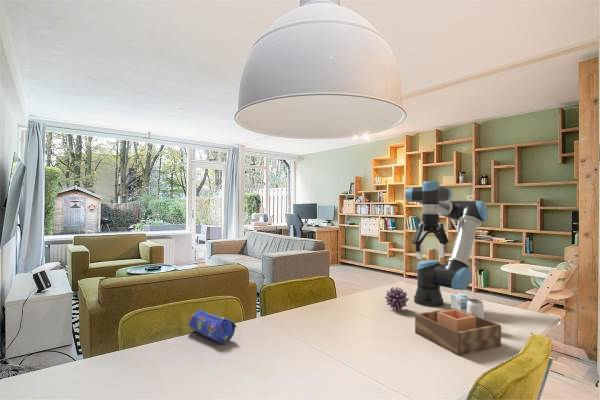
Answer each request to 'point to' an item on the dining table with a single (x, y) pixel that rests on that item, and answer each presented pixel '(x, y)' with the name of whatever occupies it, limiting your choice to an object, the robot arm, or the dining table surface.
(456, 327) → the small crate
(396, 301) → the purple spiky ball
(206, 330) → the pencil case
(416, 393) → the dining table surface
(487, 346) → the large crate
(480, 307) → the can
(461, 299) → the light bulb box
